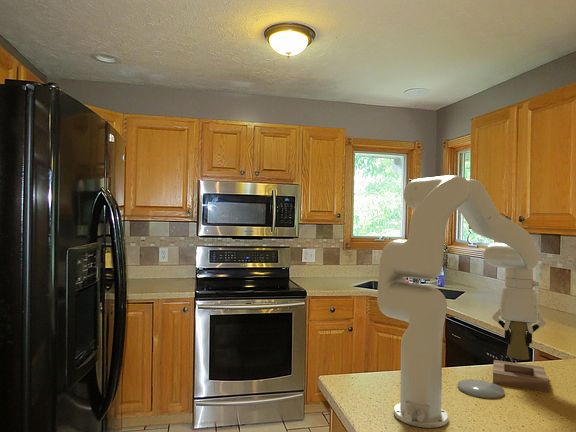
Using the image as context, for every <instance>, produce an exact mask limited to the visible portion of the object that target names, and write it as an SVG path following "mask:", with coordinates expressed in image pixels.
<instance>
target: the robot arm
mask: <svg viewBox="0 0 576 432" xmlns="http://www.w3.org/2000/svg"><path fill="white" fill-rule="evenodd" d="M403 199H404V202H405V204H406V205H407V207H408V208H410V209H412V210H413V213H412V214H411V217H410V219H409V221H410V222H409V226H408V227H409V229H408V236H407V239H394V240H391V241H389V242H388V243H387V244H386V245H385V246H384V247H383V249H382V251H381V253H380V258H379V265H378V266H379V267H378V268H379V269H378V279H377V280H378V281H377V291H376V292H377V293H376V296H377V297H376V299H377V301H376V302H377V306H378V309H379V311H380V312H381V314H383V315H384V316H386V317H388V318H392V319H395V320H399V321H404V322H406V323H408V327H407V328H406V329H405V331H404V333H403V334H402V336H401V340H400V341H401V342H400V386H399V387H400V393H399V395H400V398H399V400H400V401H399V403H398V402H397V404H395V405H394V407H393V415H394V416H395V417H396V418H397V420H399V421H400V422H403V423H405V424H408V425H410V426H414V427H418V428H424V429H427V428H428V429H433V428H434V429H436V428H440V427H443V426H445V425H447V423H449V414H448V412H447V411H446V410H444V409H443V407H442V385H443V383H442V381H443V380H442V376H443V373H442V372H443V371H442V369H443V368H442V367H443V364H442V363H443V362H442V361H443V356H442V355H443V332H444V326H445V320H446V316H447V310H448V309H447V308H448V302H447V299H446V297H445V294H444V293H442V292H441V291H440V290H439V289H438V288H436V287H433V286H430V285H425V284H419V283H414V282H413V283H412V282H411V283H409V282H407V278H411V279H418V280H419V279H420V280H434V279H437V278H438V277H440V275H441V273H442V271H443V265H444V251H445V240H446V239H445V237H446V230H447V229H446V227H447V225H448V224H447V223H448V220H449V219H450V217H451V216H452V214H453V213H454V212H455V211H456V210H457V211H459V213H460V214H461V215H462V216H463V218H464V220H465V221H466V223H467V225H468V226H469V228H470V229H471V231H472V232H473V233H475V234H476V235H479V236H481V237H483V238H487V239H489V240H492V241H496V242H492V243H490V244H488V245H487V246H486V247H485V249H484V251H483V258H484V260H485V262H486V263H487V264H488V265H489V266H491V267H495V268H502V269H505V271H504V276H505V278H504V279H505V280H504V281H505V282H504V284H505V285H504V286H502V288H501V292H500V300H499V303H500V304H499V308H498V309H497V311H495V313H494V314H493V315H492V320H493V321H495V322H496V323H497V324H499V325H500V327H502V329H503V330H504V341H506V344H507V345H508V344H510V332H511V330H510V328H509V325H510V322H511V321H514V322H523V323H527V327H528V330H527V332H526V337H527V347H530V344H533V333H534V332H535V331H538V330H539V329H540V328H542V327H544V326H546V325H547V322H546V321H545V319H544V318H543V317H542V315H540V313H539V307H538V306H539V305H538V297H537V296H538V294H537V290H536V289H535V288H534V287H539V285H540V282H539V281H535V279H534V269H535V268H536V267H537V266H538V264H539V262H540V253H539V249H538V247H537V245H536V243H535V241H534V239H533V238H532V235H530V233H529V232H528V231H527V230H526V229H525V228H523V227H522V226H520V225H519V224H517V223H515V222H514V221H512V220H511V219H509V218H507V217H505V216H503V215H501V214H500V211H499V210H498V209H497V206H496V205H495V203H494V202H493V200H492V198H491V196H490V194H489V193H488V192H487V190H486V188H485V186H484V185H483V184H482V182H480V181H479V180H477V179H474V178H466V177H464V176H461V175H456V174H455V175H440V176H432V177H423V178H416V179H412V180H411V181H409V182H408V183H407V184H406V185H405V187H404V189H403ZM504 321H505V322H504ZM532 324H533V325H532Z"/></svg>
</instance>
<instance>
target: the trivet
mask: <svg viewBox="0 0 576 432" xmlns="http://www.w3.org/2000/svg"><path fill="white" fill-rule="evenodd" d="M457 389H458V390H459V391H461V392H462V393H464V394H466V395H469V396H471V397H476V398H480V399H481V398H482V399H492V400H493V399H500V398H503V397H504V395H505V390H504V388H503V387H502V386H500V385H499V384H497V383H493V382H490V381H486V380H480V379H472V378H471V379H462V380H459V381H458V382H457Z"/></svg>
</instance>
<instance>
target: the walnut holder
mask: <svg viewBox="0 0 576 432" xmlns="http://www.w3.org/2000/svg"><path fill="white" fill-rule="evenodd" d="M492 383H493V384H496V385H505V386H508V387H509V386H510V387H516V388H522V389H527V390H534V391H539V392H546V393H548V391H549V380H548V377H547V373H546V369H545V367H544V366H541V365H540V366H539V365H532V364H525V363H520V362H519V363H518V362H512V361H506V360H505V361H503V360H497V359H493V367H492Z"/></svg>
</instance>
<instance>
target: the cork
mask: <svg viewBox="0 0 576 432" xmlns="http://www.w3.org/2000/svg"><path fill="white" fill-rule="evenodd" d="M509 330H510V344H507V350H506V357H508V358H510V359H515V360H520V361H521V360H522V361H523V360H524V361H528V360H530V355H529V348H528V347H527V337H526V332H527V330H528V327H527V323H523V322H514V321H511V322H510V325H509Z"/></svg>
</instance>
